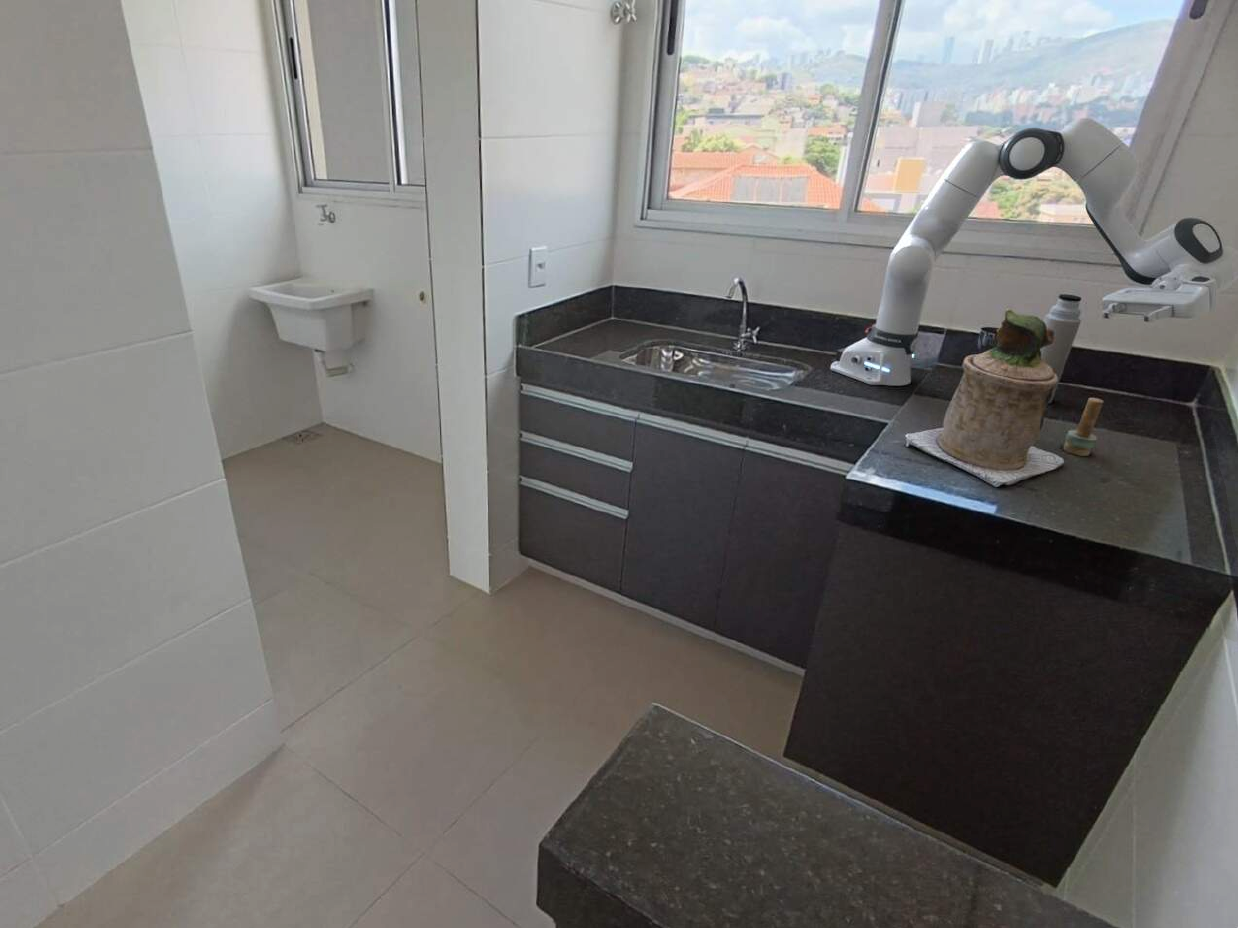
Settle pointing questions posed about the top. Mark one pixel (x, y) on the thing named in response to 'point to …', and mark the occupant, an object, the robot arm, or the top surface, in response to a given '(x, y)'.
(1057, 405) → the top surface
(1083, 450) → the brush
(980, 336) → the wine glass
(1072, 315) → the thermos bottle
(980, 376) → the cookie jar
